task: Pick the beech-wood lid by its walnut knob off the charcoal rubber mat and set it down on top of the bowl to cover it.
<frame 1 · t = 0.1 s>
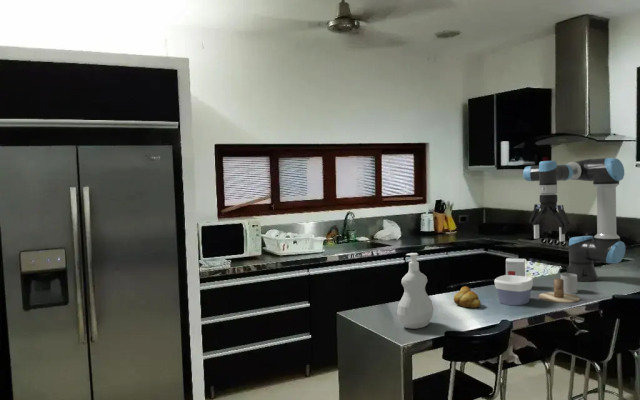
hand: (549, 239, 227), 28 cm above the worktop, fingers open, 13 cm apart
bowl: (514, 303, 225), on the worktop
lid: (559, 298, 226), point 1 cm above the worktop, touching mat
cup: (570, 292, 238), on the worktop
mat: (559, 299, 226), on the worktop
soap bottle: (415, 326, 197), on the worktop
bread roll: (467, 306, 223), on the worktop
supplement box: (515, 289, 250), on the worktop
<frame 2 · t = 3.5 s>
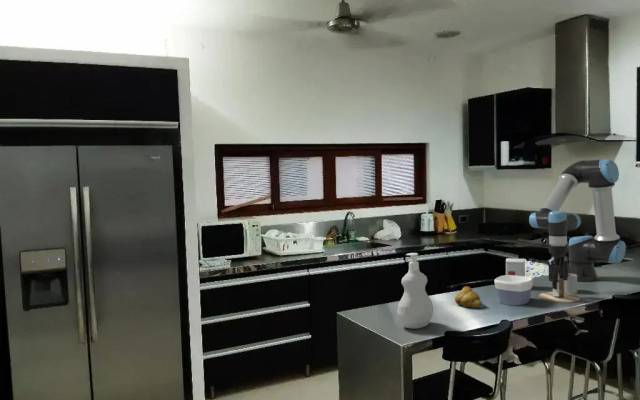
hand: (559, 294, 226), 2 cm above the worktop, fingers closed on lid, 4 cm apart
lid: (559, 298, 226), point 1 cm above the worktop, touching gripper, mat
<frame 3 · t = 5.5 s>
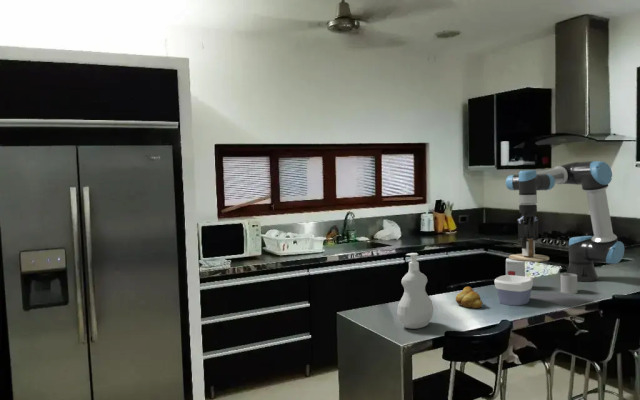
hand: (528, 254, 224), 22 cm above the worktop, fingers closed on lid, 4 cm apart
lid: (528, 258, 224), point 20 cm above the worktop, touching gripper
when the fingers open (14 cm above the worktop, at t = 7.7 s): lid drops 1 cm, resting on bowl.
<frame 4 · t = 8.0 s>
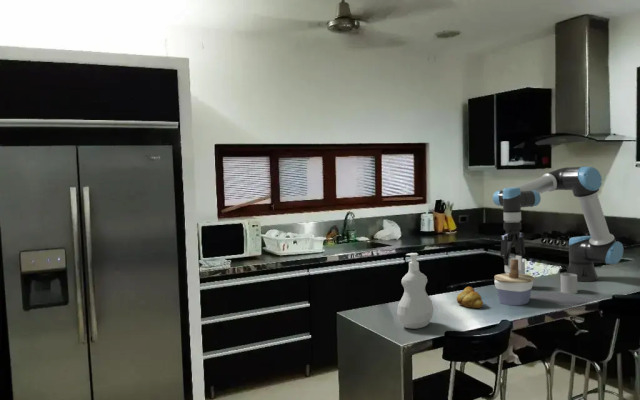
hand: (513, 271, 224), 15 cm above the worktop, fingers open, 7 cm apart
bowl: (514, 303, 225), on the worktop, touching lid
lid: (513, 278, 224), point 11 cm above the worktop, touching bowl
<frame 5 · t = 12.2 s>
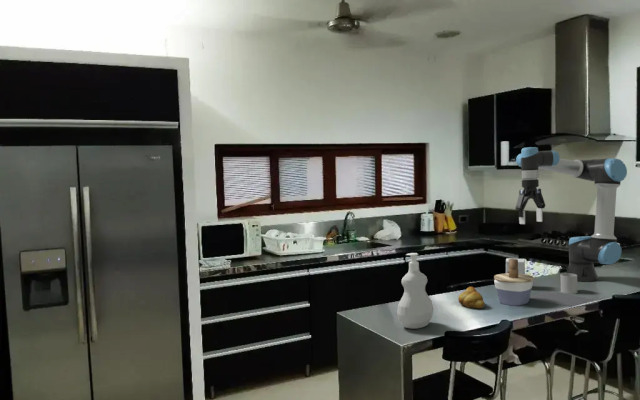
hand: (531, 222, 238), 35 cm above the worktop, fingers open, 13 cm apart
at the end: lid 0.1 cm from the bowl (horizontally); lid point 11.0 cm above the worktop; the gripper is holding nothing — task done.
